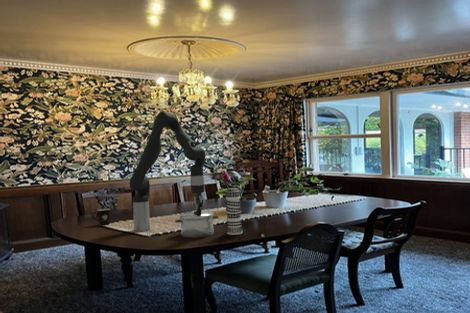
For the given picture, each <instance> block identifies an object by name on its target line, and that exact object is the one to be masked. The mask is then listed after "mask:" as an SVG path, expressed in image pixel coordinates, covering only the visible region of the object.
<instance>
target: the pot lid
mask: <svg viewBox="0 0 470 313" xmlns="http://www.w3.org/2000/svg"><path fill="white" fill-rule="evenodd" d="M212 216H215V215H214V212H213V211H208V210H207V211H204V210H203V211H202V210H201V216H198V215H197V210H188V211H183V213H180V214H179V218H180V219H204V218H209V217H212Z"/></svg>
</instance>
